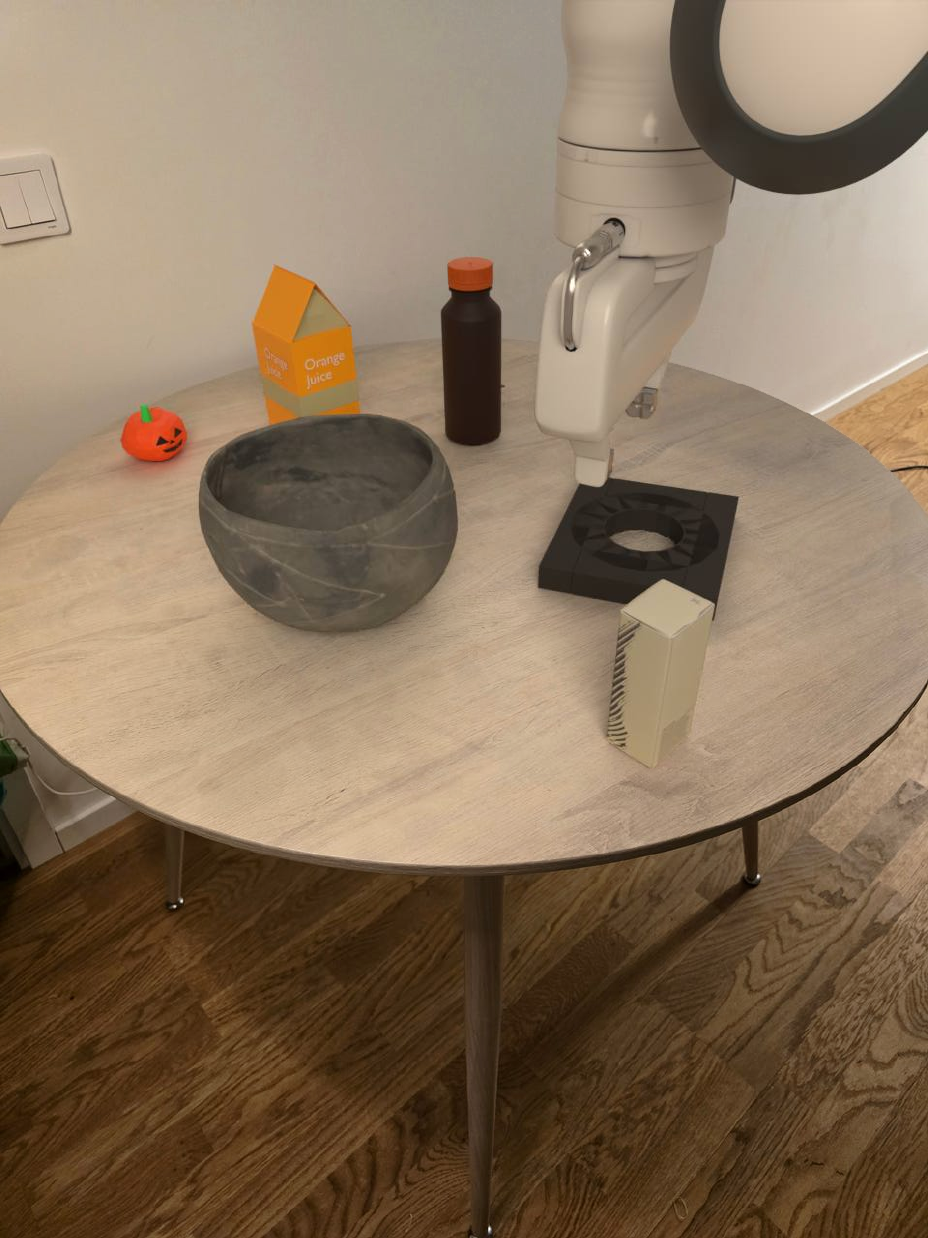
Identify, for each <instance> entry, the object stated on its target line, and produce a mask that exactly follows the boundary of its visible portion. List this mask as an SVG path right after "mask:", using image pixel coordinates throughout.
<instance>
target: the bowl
mask: <svg viewBox="0 0 928 1238" xmlns="http://www.w3.org/2000/svg"><path fill="white" fill-rule="evenodd" d="M458 515H459V514H458V503H457V493H456V489H455V484H454V481H453V477H452V474H451V471H450V468H449V465H448V462H447V461H446V459H445V455H443V453H442V451H441V449H440V447H439V446H438V444H436V442H435V441H434V440H433V439H432V438H431V436H429V434H427V433H426V432H425V431H424V430H422V429H421V428H420V427H417V426H416V425H414V424H411V423H410V422H408V421H405V420H402V419H398V418H394V417H391V416H386V415H382V414H373V413H360V414H338V415H315V416H305V417H299V418H295V419H292V420H288V421H283V422H279V423H276V424H273V425H270V424H269V425H266V426H264V427H260V428H257V429H254V430H251V431H248V432H245V433H242V434H240V435H238V436H237V437H234V438H233V439H231V440H230V441H228V442H227V443H226V444H224V445H222V446H221V447H219V448H217V449H216V450H215V451H214V452H213V453H211V455H210V456H209V458H208V459H207V461H206V462H205V465H204V468H203V470H202V473H201V476H200V480H199V489H198V517H199V518H198V519H199V524H200V528H201V533H202V536H203V539H204V542H205V545H206V547H207V548H208V549H207V550H208V551H209V553H210V555H211V557H212V559H213V562H214V563H215V565H216V567H217V569H218V571H219V573H220V574H221V576H222V577H223V579H224V580H225V581H226V583H227V584H228V585H229V586H230V588H231V589H232V590H233V591H234V592H235V593H236V594H237V595H238V596H239V597H240V598H241V599H242V600H243V601H244V602H245V603H246V604H247V605H248V606H250V607H251V608H252V609H253V610H255V611H256V612H258V613H259V614H260V615H263V616H264V617H266V618H268V619H270V620H272V621H274V622H276V623H279V624H282V625H284V626H287V627H290V628H293V629H297V630H302V631H309V632H316V633H318V632H319V633H338V632H341V633H342V632H345V633H346V632H347V633H348V632H360V631H363V630H367V629H371V628H372V629H373V628H375V627H377V626H380V625H383V624H385V623H387V622H390V621H392V620H395V619H396V618H397V617H399V616H400V615H402V614H403V613H405V612H406V611H408V610H410V609H411V608H412V607H414V606H415V605H417V604H418V603H419V602H420V601H422V600H423V599H424V598H425V597H426V596H427V595H428V594H429V593H430V592H431V591H432V590H433V589H434V588H435V587H436V585H437V584H438V583H439V581H440V580H441V578H442V577H443V575H444V573H445V571H446V569H447V567H448V565H449V563H450V561H451V558H452V555H453V552H454V549H455V545H456V542H457V537H458V532H459V531H458V530H459V517H458Z"/></svg>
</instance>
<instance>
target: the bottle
mask: <svg viewBox="0 0 928 1238" xmlns="http://www.w3.org/2000/svg"><path fill="white" fill-rule="evenodd" d="M446 266H447V267H446V269H447V286H448V291H449V292H450V293H451V294H450V298H449V299H448V300H447V302H446V303H445V304H444V305H443V306H442V308H441V309H440V334H441V335H440V336H441V357H442V359H441V360H442V384H443V407H444V408H443V409H444V411H443V412H444V432H445V436H446V437H447V438H448V440H450V441H451V442H453V443H456V444H459V445H462V446H471V447H472V446H482V445H486V444H489V443H491V442H493V441H495V440H496V439H498V437H499V436H500V435H501V433H502V309H501V307H500V305H499V304H498V303H497V302H496V301H495V300H494V299H493V297H492V296H491V291H492V290H493V284H494V267H493V266H494V263H493V262H492V260H490V259H488V258H486V257H479V256H463V257H459V258H455V259H451V260H450V261H449V262H448V263H447V265H446Z"/></svg>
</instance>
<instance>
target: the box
mask: <svg viewBox="0 0 928 1238" xmlns="http://www.w3.org/2000/svg"><path fill="white" fill-rule="evenodd" d="M714 608H715V604H714V603H712V602H711V601H709V600H707V599H704V598H702V597H700V596H698V595H696V594H694V593H692V592H690V591H688V590H686V589H684V588H682V587H679V586H677V585H675V584H673V583H671V582H669V581H667V580H664V579H662V580H660V581H658V582H657V583H656V584H654V585H653V586H651V587H650V588H648V589H647V590H646V591H644V592H643V593H642V594H640V595H639V596H637V597H636V598H635V599H634V600H632V601H631V602H630V603H628V604H625V605H624V606H623V607H622V608H621V609H620V610H619V618H618V628H617V629H618V630H617V637H616V639H617V640H616V641H617V642H616V648H615V656H614V665H613V674H612V682H611V683H612V684H611V695H610V702H609V710H608V720H607V731H606V736H605V737H606V741H607V742H608V743H609V744H612V745H613V746H614V747H616V748H618V750H620V751H621V752H623V753H625V754H626V755H627V756H629V757H631V758H632V759H634V760H636V761H637V762H639V763H640V764H642V765H644V766H645V767H647V768H649V769H654V768H655V767H656V766H657V765H658V764H660V763H661V762H662V761H663V760H664V759H665V758H667V756H669V755H670V754H671V753H673V751H674V750H675V749H676V748H677V747H679V745H680V744H682V743H683V742H684V740H686V739H687V738H688V736H689V735H690V734H691V730H692V725H693V719H694V714H695V708H696V704H697V698H698V693H699V689H700V684H701V678H702V675H703V674H702V673H703V669H704V664H705V658H706V653H707V649H708V643H709V637H710V633H711V628H712V623H713V621H712V618H713V613H714Z"/></svg>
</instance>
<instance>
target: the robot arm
mask: <svg viewBox="0 0 928 1238" xmlns="http://www.w3.org/2000/svg"><path fill="white" fill-rule="evenodd" d="M560 11H561V13H560V15H561V16H560V33H561V39H562V44H563V48H564V53H565V59H566V71H567V73H566V75H567V77H566V90H565V96H564V101H563V105H562V108H561V112H560V115H559V118H558V122H557V130H556V135H557V136H556V159H555V160H556V161H555V186H554V213H553V234H554V236H555V238H556V239H557V240H558V241H559V242H560V243H562V244H564V245H566V246H568V247H570V248H573V249H574V250H573V251H572V256H571V261H572V263H571V264H570V265H569V266H568V267H566V268H565V269H564V270H563V271H561V272H560V273H559V274H558V275H557V276H556V277H555V278H554V279H553V281H552V282H551V284H550V285H549V288H548V291H547V293H546V296H545V300H544V303H543V309H542V312H541V313H542V314H541V320H540V327H539V328H540V329H539V337H538V347H537V358H536V359H537V360H536V368H535V369H536V370H535V381H534V382H535V384H534V398H533V416H534V420H535V422H536V425H537V428H538V429H539V431H540V432H541V433H542V434H544V435H546V436H551V437H555V438H559V439H564V440H568V441H569V442H570V445H571V448H572V451H573V454H574V456H575V459H574V479H575V481H576V482H577V483H579V484H584V485H589V486H594V487H601V486H603V485H604V483H605V481H606V480H607V479H608V477H609V478H610V475H611V474H612V473H613V467H614V466H613V463H614V457H615V449H614V448H611V438H610V437H611V436H610V435H611V434H612V432H613V430H614V427H615V425H616V424H617V423H618V421H619V420H620V419H621V417H622V416H623V415H624V413H626V415H627V416H629V417H631V418H640V420H641V419H642V420H648V419H650V418H651V417H652V416H653V414H655V412H656V411H657V409H658V408H659V406H660V405H659V404H660V397H661V390H662V385H663V382H664V378H665V374H666V372H667V368H668V365H669V362H670V359H671V355H672V350H673V349H675V347H676V345H677V344H678V343H679V341H680V340H681V339H682V337H683V336H684V335H685V334H686V332H687V331H688V330H689V329H690V328H691V326H692V324H693V323H694V322H695V320H696V318H697V316H698V313H699V311H700V307H701V305H702V302H703V298H704V295H705V293H706V292H705V291H706V288H707V283H708V278H709V275H710V271H711V265H712V261H713V255H714V251H715V247H716V245H718V244H719V243H720V242H722V241H723V239H724V238H725V236H726V232H727V226H728V225H727V224H728V218H729V211H730V206H731V205H732V203H733V200H734V197H735V192H736V187H737V180H738V181H740V182H742V183H744V184H746V185H749V186H750V187H753V188H756V189H759V190H761V191H766V192H769V193H773V194H781V195H794V196H796V195H797V196H801V195H803V196H804V195H815V194H820V193H821V194H823V193H827V192H831V191H835V190H839V189H842V188H845V187H848V186H851V185H853V184H856V183H858V182H861V181H863V180H865V179H867V178H869V177H871V176H872V175H875V174H877V173H878V172H880V171H881V170H883V169H885V168H887V166H889V165H891V164H892V163H893V162H895V161H896V160H897V159H899V158H900V157H902V156H903V155H904V154H905V153H906V152H907V151H909V150H910V149H911V148H912V147H913V146H914V145H915V144H917V142H918V141H919V140H921V138H923V136H925V135H926V134H927V133H928V0H561V10H560Z"/></svg>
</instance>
